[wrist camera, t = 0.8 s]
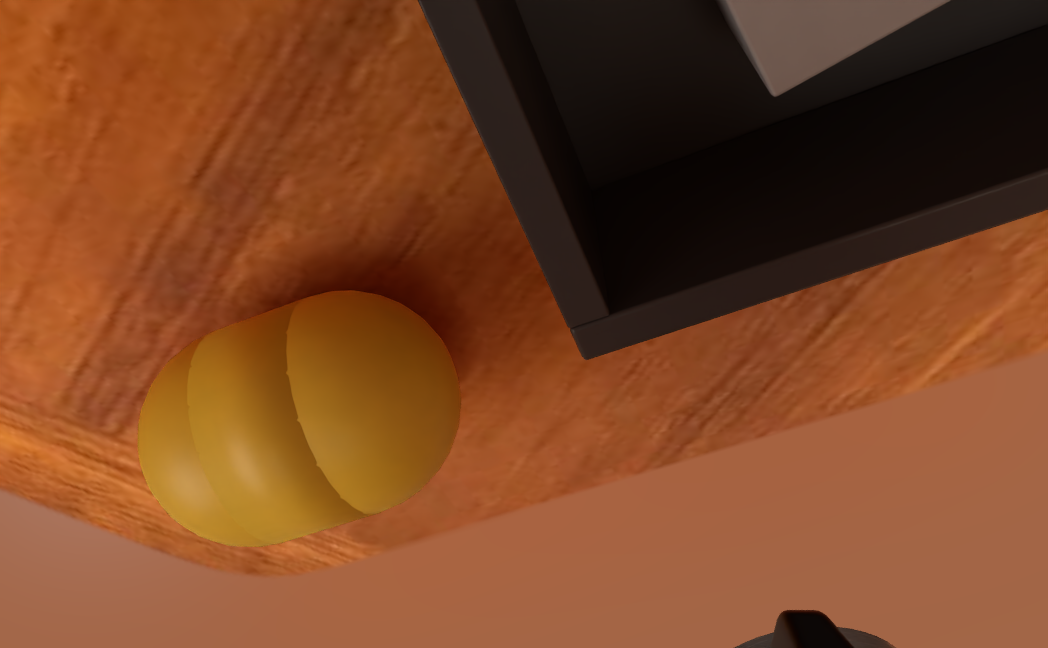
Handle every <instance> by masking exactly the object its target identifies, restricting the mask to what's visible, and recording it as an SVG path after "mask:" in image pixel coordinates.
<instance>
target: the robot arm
mask: <svg viewBox="0 0 1048 648" xmlns="http://www.w3.org/2000/svg"><path fill="white" fill-rule="evenodd" d="M770 648H854V646H853V645H852V644H851V643H850V642H849V641H848V639H847V638H846V637H845V636H844V635H843V634H842V633H841V631H840V630H839V629H838V628H837V627H836V626H835V625H834V623H833V622H832V621H831V620H830V619H829V618H828V617H827V616H826V615H825V614H823V613H822V612H820V611H815V610H787V611H783V612H782V613H781V614H780V615H779V617H778V619H777V622H776V626H775V630H774V634H773V638H772V642H771V646H770Z"/></svg>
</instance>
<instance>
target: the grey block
mask: <svg viewBox="0 0 1048 648" xmlns="http://www.w3.org/2000/svg"><path fill="white" fill-rule="evenodd" d="M715 1H716V3H717V5H718V7H719V9H720V11H721V13H722V15H723V17H724V19H725V21H726V23H727V25H728V26H729V28H730V29H731V31H732V33H733V34H734V36H735V37H736V39H737V41H738V42H739V44H740V45H741V47H742V49H743V50H744V52H745V53H746V55H747V57H748V58H749V60H750V61H751V63H752V65H753V66H754V68H755V69H756V71H757V73H758V74H759V76H760V78H761V79H762V81H763V82H764V84H765V86H766V87H767V89H768V90H769V92H770V94H771V95H773V96H779V95H780V94H782V93H784V92H786V91H788V90H789V89H791V88H793V87H795V86H797V85H799V84H800V83H802V82H804V81H806V80H808V79H809V78H811V77H813V76H815V75H817V74H818V73H820V72H822V71H824V70H826V69H827V68H829V67H831V66H833V65H835V64H836V63H838V62H840V61H842V60H844V59H846V58H847V57H849V56H851V55H853V54H855V53H856V52H858V51H860V50H862V49H864V48H865V47H867V46H869V45H871V44H873V43H874V42H876V41H878V40H880V39H882V38H883V37H885V36H887V35H889V34H891V33H893V32H894V31H896V30H898V29H900V28H902V27H903V26H905V25H907V24H909V23H911V22H912V21H914V20H916V19H918V18H920V17H921V16H923V15H925V14H927V13H929V12H930V11H932V10H934V9H936V8H938V7H940V6H941V5H943V4H945V3H947V2H949V1H950V0H715Z"/></svg>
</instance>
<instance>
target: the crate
mask: <svg viewBox="0 0 1048 648" xmlns="http://www.w3.org/2000/svg"><path fill="white" fill-rule="evenodd" d="M418 2H419V4H420V6H421V9H422V11H423V13H424V15H425V17H426V19H427V22H428V24H429V26H430V28H431V30H432V32H433V35H434V37H435V39H436V41H437V43H438V46H439V48H440V50H441V52H442V54H443V56H444V59H445V61H446V63H447V65H448V67H449V69H450V72H451V74H452V76H453V78H454V80H455V82H456V85H457V87H458V89H459V91H460V93H461V96H462V98H463V100H464V102H465V104H466V106H467V109H468V111H469V113H470V115H471V117H472V119H473V122H474V124H475V126H476V128H477V130H478V133H479V135H480V137H481V139H482V141H483V143H484V146H485V148H486V150H487V152H488V154H489V156H490V159H491V161H492V163H493V165H494V167H495V169H496V172H497V174H498V176H499V178H500V180H501V183H502V185H503V187H504V189H505V191H506V193H507V196H508V198H509V200H510V202H511V204H512V206H513V209H514V211H515V213H516V215H517V217H518V219H519V222H520V224H521V226H522V228H523V230H524V233H525V235H526V237H527V239H528V241H529V243H530V246H531V248H532V250H533V252H534V254H535V256H536V259H537V261H538V263H539V265H540V267H541V269H542V272H543V274H544V276H545V278H546V280H547V283H548V285H549V287H550V289H551V291H552V293H553V296H554V298H555V300H556V302H557V304H558V306H559V309H560V311H561V313H562V315H563V317H564V320H565V322H566V324H567V326H568V327H569V328H570V331H571V334H572V336H573V338H574V340H575V342H576V345H577V347H578V349H579V351H580V353H581V355H582V357H583V358H584V359H585V360H588V359H591V358H595V357H598V356H601V355H604V354H607V353H610V352H613V351H616V350H619V349H622V348H625V347H628V346H631V345H634V344H637V343H640V342H644V341H647V340H650V339H653V338H656V337H659V336H662V335H665V334H668V333H671V332H674V331H677V330H680V329H683V328H686V327H689V326H693V325H696V324H699V323H702V322H705V321H708V320H711V319H714V318H717V317H720V316H723V315H726V314H729V313H732V312H735V311H738V310H742V309H745V308H748V307H751V306H754V305H757V304H760V303H763V302H766V301H769V300H772V299H775V298H778V297H781V296H784V295H787V294H791V293H794V292H797V291H800V290H803V289H806V288H809V287H812V286H815V285H818V284H821V283H824V282H827V281H830V280H833V279H837V278H840V277H843V276H846V275H849V274H852V273H855V272H858V271H861V270H864V269H867V268H870V267H873V266H876V265H879V264H882V263H886V262H889V261H892V260H895V259H898V258H901V257H904V256H907V255H910V254H913V253H916V252H919V251H922V250H925V249H928V248H931V247H935V246H938V245H941V244H944V243H947V242H950V241H953V240H956V239H959V238H962V237H965V236H968V235H971V234H974V233H977V232H980V231H984V230H987V229H990V228H993V227H996V226H999V225H1002V224H1005V223H1008V222H1011V221H1014V220H1017V219H1020V218H1023V217H1026V216H1029V215H1033V214H1036V213H1039V212H1042V211H1045V210H1048V0H950V1H949V2H947V3H945V4H943V5H941V6H940V7H938V8H936V9H934V10H932V11H930V12H929V13H927V14H925V15H923V16H921V17H920V18H918V19H916V20H914V21H912V22H911V23H909V24H907V25H905V26H903V27H902V28H900V29H898V30H896V31H894V32H893V33H891V34H889V35H887V36H885V37H883V38H882V39H880V40H878V41H876V42H874V43H873V44H871V45H869V46H867V47H865V48H864V49H862V50H860V51H858V52H856V53H855V54H853V55H851V56H849V57H847V58H846V59H844V60H842V61H840V62H838V63H836V64H835V65H833V66H831V67H829V68H827V69H826V70H824V71H822V72H820V73H818V74H817V75H815V76H813V77H811V78H809V79H808V80H806V81H804V82H802V83H800V84H799V85H797V86H795V87H793V88H791V89H789V90H788V91H786V92H784V93H782V94H780V95H779V96H773V95H771V94H770V92H769V90H768V89H767V87H766V86H765V84H764V82H763V81H762V79H761V78H760V76H759V74H758V73H757V71H756V69H755V68H754V66H753V65H752V63H751V61H750V60H749V58H748V57H747V55H746V53H745V52H744V50H743V49H742V47H741V45H740V44H739V42H738V41H737V39H736V37H735V36H734V34H733V33H732V31H731V29H730V28H729V26H728V25H727V23H726V21H725V19H724V17H723V15H722V13H721V11H720V9H719V7H718V5H717V3H716V1H715V0H418Z"/></svg>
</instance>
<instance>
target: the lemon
mask: <svg viewBox="0 0 1048 648" xmlns="http://www.w3.org/2000/svg"><path fill="white" fill-rule="evenodd" d="M460 409H461V392H460V386H459V381H458V377H457V373H456V369H455V366H454V363H453V361H452V359H451V356H450V354H449V352H448V350H447V348H446V346H445V344H444V343H443V341H442V339H441V338H440V337H439V335H438V334H437V333H436V332H435V331H434V330H433V329H432V328H431V326H430V325H429V324H428V323H427V322H426V321H425V320H424V319H423V318H422V317H420V316H419V315H417V314H416V313H415V312H413V311H412V310H410V309H409V308H407V307H406V306H404V305H403V304H401V303H399V302H397V301H394V300H392V299H389V298H387V297H384V296H382V295H377V294H372V293H366V292H360V291H355V290H347V291H330V292H326V293H322V294H318V295H314V296H309V297H306V298H303V299H301V300H298V301H295V302H292V303H290V304H287V305H284V306H281V307H279V308H276V309H273V310H270V311H268V312H265V313H262V314H259V315H257V316H254V317H251V318H248V319H246V320H243V321H240V322H237V323H235V324H232V325H229V326H226V327H224V328H221V329H218V330H216V331H213V332H211V333H209V334H207V335H204V336H202V337H200V338H198V339H196V340H194V341H193V342H192V343H190V344H189V345H188V346H186V347H185V348H184V349H183V350H181V351H180V352H179V353H178V354H177V355H175V356H174V357H173V358H172V359H170V360H169V361H168V363H167V364H166V365H165V366H164V368H163V369H162V370H161V372H160V373H159V374H158V376H157V377H156V379H155V380H154V382H153V383H152V385H151V386H150V389H149V391H148V394H147V396H146V399H145V401H144V404H143V406H142V409H141V412H140V418H139V424H138V454H139V461H140V465H141V469H142V472H143V475H144V477H145V480H146V483H147V485H148V487H149V488H150V490H151V492H152V494H153V495H154V497H155V498H156V499H157V501H158V502H159V503H160V505H161V506H162V507H163V508H164V510H165V511H166V512H167V513H168V514H169V515H170V516H171V517H172V518H173V519H174V520H175V521H176V522H177V523H179V524H181V525H182V526H184V527H185V528H187V529H188V530H190V531H192V532H193V533H195V534H197V535H198V536H200V537H202V538H205V539H208V540H211V541H214V542H218V543H221V544H225V545H228V546H245V547H263V546H268V545H274V544H279V543H283V542H286V541H290V540H293V539H296V538H299V537H303V536H306V535H309V534H312V533H316V532H319V531H322V530H326V529H329V528H332V527H335V526H339V525H342V524H345V523H348V522H352V521H355V520H358V519H361V518H365V517H368V516H371V515H375V514H378V513H381V512H382V511H385V510H387V509H389V508H392V507H394V506H396V505H399V504H401V503H403V502H405V501H406V500H407V499H409V498H410V497H412V496H413V495H415V494H416V493H417V492H419V491H420V490H421V489H422V488H423V487H424V486H425V485H426V484H427V483H428V482H429V480H430V479H431V478H432V477H433V476H434V475H435V474H436V473H437V472H438V471H439V469H440V468H441V466H442V464H443V463H444V461H445V459H446V458H447V456H448V454H449V453H450V450H451V448H452V445H453V442H454V439H455V436H456V433H457V430H458V427H459V420H460Z"/></svg>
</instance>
